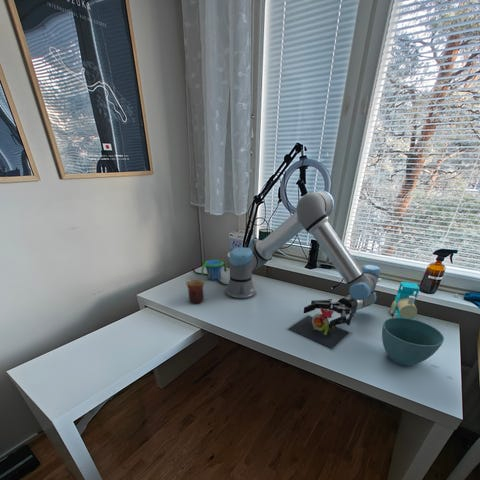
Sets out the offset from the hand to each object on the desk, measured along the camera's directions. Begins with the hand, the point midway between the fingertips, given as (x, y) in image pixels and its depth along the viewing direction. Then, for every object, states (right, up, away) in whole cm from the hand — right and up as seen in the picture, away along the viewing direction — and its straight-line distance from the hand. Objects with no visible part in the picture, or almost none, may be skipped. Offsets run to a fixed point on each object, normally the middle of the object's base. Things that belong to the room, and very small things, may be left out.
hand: (316, 317), depth 108 cm
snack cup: (-47, +24, +56) cm, 77 cm away
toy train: (+43, -1, +15) cm, 46 cm away
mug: (-53, +9, +30) cm, 62 cm away
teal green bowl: (+28, -15, -10) cm, 34 cm away
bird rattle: (+3, -6, +4) cm, 8 cm away
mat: (+2, -6, +5) cm, 8 cm away
